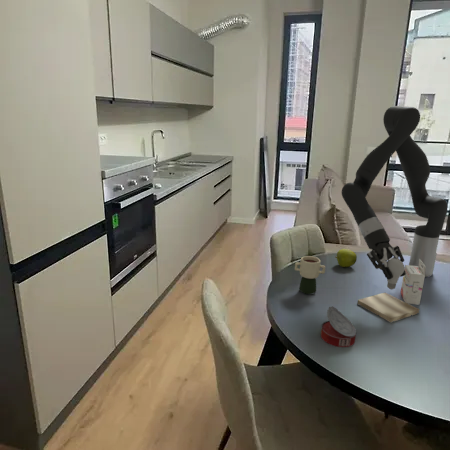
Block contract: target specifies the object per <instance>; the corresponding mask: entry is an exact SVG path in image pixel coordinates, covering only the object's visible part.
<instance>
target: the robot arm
mask: <svg viewBox="0 0 450 450" xmlns="http://www.w3.org/2000/svg"><path fill="white" fill-rule="evenodd" d="M382 120H383V125H384V129H385V131H386V133H387V135H388V137H387V138H386V139H385V140H384V141H383V142H382V143H380V144H379V145H377V146H376V147H375V148H374V149H372V150H371V151H370V152H369V153H368V154H367V155H366V157H365V158H364V159H363V160H362V162H361V164H360V165H359V167H358V169H357V170H356V172H355V179H354V181H353V182H347V183H345V184H344V185H343V187H342V189H341V196H342V198H343V202H345V204H346V205H347V208H348V209H349V210H350V211H351V214H352V216H353V218H354V221H355V222H356V224H357V226H358V228H359V231H360V233H361V235H362V237H363V239H364V241H365V243H366V245H367V247H368V249H369V250H370V251H369V252H368V253H366V256H367V258H368V259H369V260H370V262H371V263H372V265H373V267H374V268H375V269H376V270H378V269H380V270H381V271H382V273H383V274H384V277H385V278H386V280H387V279H388V280H389V279H392V278H393V275H392V273H391V271H390V269H389V267H387V261H388V260H390V259H399V260H400V261H402V263H403V262H405V259H404V256H403V254H402V251H401V249H400V246H398V245H395V246H392V245H391V244H390V241H391V238H390V236H389V235H388V233H387V231H386V229H385V227H384V226H383V224H382V222H381V220H380V219H379V218H378V216H377V214H376V213H375V211H374V209H373V208H372V206H371V205H370V204H369V201H368V200H367V198H366V197H367V196H368V193H369V191H370V189H371V187H372V185H373V182H374V180H375V179H376V178H377V176H378V175H380V172H382V171H381V170H382V169H383V168H384V166H385V165H386V164H387V162H388V161H389V159H390V158H391V157H392V156H393V155H394V153H396V155H397V158H398V160H399V163H400V167H401V170H402V171H403V174H404V177H405V179H406V182H407V183H406V184H407V186H408V189H409V192H410V196H411V200H412V205H413V206H412V207H413V209H414V212H415V215H417V216H418V217H421V218H423V219H427V222H426V224H421V225H417V226H416V227H415V230H414V234H413V239H412V247H411V252H410V257H409V261H408V262H409V263H408V265H411V266H419V259H420V260H421V261H422V262H423V264H424V265H425V267H426V268H425V278H427V277H429V278H430V277H431V276H432V275H433V274H434V271H435V270H434V269H435V264H436V259H437V255H438V254H437V250H438V244H439V240H440V239H439V238H440V235H441V232H442V230H443V227H444V224H445V220H446V216H447V212H448V203H447V201H446V200H445V199H444V198H441V197H440V198H439V197H435V196H431V195H429V193H428V190H427V187H426V184H427V182H428V180H429V177H430V175H431V167H430V164H429V159H428V158H427V155H426V153H425V152H424V150H423V149H422V148H421V147H420V145H418V143H417V142H416V141H414V139H413V138H412V137H411V135H412V133H413V132H415V130H416V128H418V126H419V124H420V120H421V113H420V111H419V109H417V108H416V107H413V106H408V105H407V106H405V105H404V106H403V105H394V106H393V105H392V106H390V107H388V108H387V109H386V110H385V112H384V115H383V119H382ZM421 266H422V265H421ZM422 268H423V266H422ZM404 275H406V272H405V270H404V272H403V274H402V275H401V276H400V277H403V276H404ZM400 277H399V278H400Z"/></svg>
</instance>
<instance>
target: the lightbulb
mask: <svg viewBox="0 0 450 450" xmlns="http://www.w3.org/2000/svg"><path fill="white" fill-rule="evenodd" d="M387 267H389V269H390V271H391V273H392V275H393V278H392V279H389V280H388V279H387V278H386V280H387V281H386V282H387V285H386V286H387V288H388V289H389V290H394V289H396V287H397V283H398V281H399V279H400V276H401V275H402V274H403V272H404V269H405V264H404V263H403V262H402V261H400V258H399V259H390V260H387Z"/></svg>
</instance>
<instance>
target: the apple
mask: <svg viewBox="0 0 450 450" xmlns="http://www.w3.org/2000/svg"><path fill="white" fill-rule="evenodd" d="M336 252H337V253H336V256H334V258H336V260H337V263H338V265H339V266H340V267H342V268H348V267H351V266H352V267H353V265H355V264H356V263H357V253H355V252H354V251H352V250H351V249H349V248H341V249H339V250H338V251H336Z"/></svg>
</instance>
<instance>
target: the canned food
mask: <svg viewBox="0 0 450 450" xmlns="http://www.w3.org/2000/svg"><path fill="white" fill-rule="evenodd" d="M326 313H327V314H326V315H327V316H326V317H327V319H328V320H326V321H325V322H323V323H322V324H321V331H320V338H321V339H322V340H323V341H324V342H325V343H327V344H328V345H330V346H332V347H333V346H334V347H338V348H349V347H351V346H353V345H354V344H355V342H356V337H357V336H356V334H357V330H356V327H355V326H354V325H353V323H352V322H351V321H350V319H348V318H347V316H345V315H344V314H343V313H342V312H341V311H339V310H338V309H337V308H336V307H335V306H329V307H328V309H327V312H326Z"/></svg>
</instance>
